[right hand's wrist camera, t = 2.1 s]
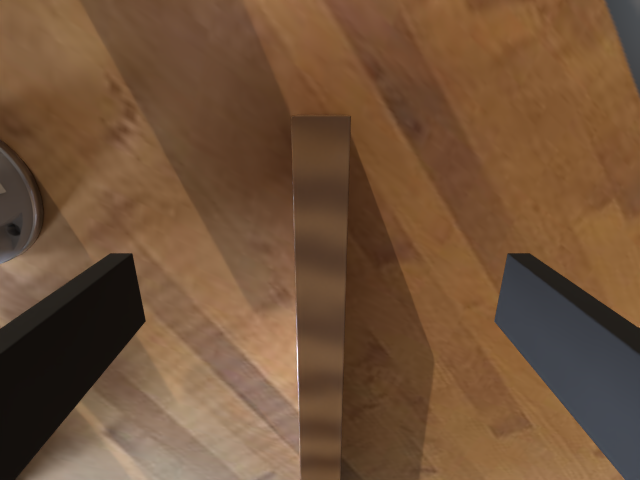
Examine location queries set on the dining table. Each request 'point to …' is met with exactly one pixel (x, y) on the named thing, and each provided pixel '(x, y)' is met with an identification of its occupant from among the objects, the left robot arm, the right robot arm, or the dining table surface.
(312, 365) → the bar
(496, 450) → the dining table surface
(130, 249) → the dining table surface
